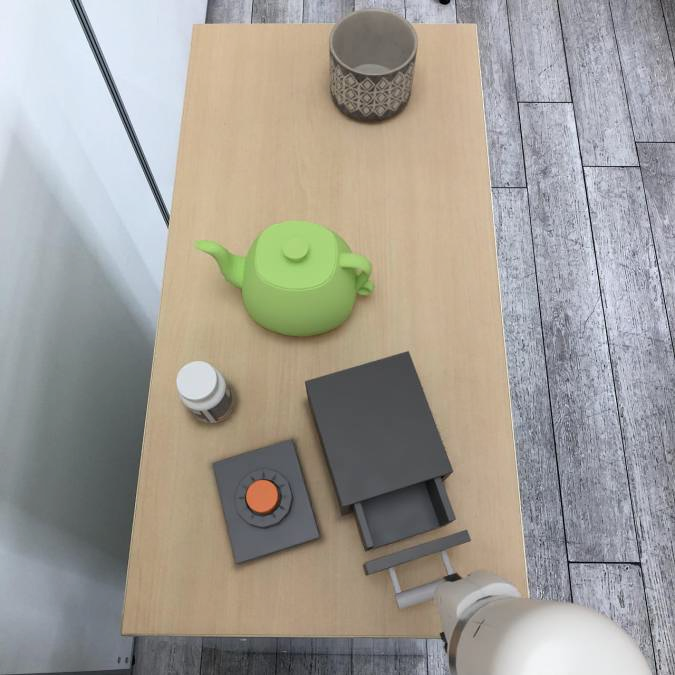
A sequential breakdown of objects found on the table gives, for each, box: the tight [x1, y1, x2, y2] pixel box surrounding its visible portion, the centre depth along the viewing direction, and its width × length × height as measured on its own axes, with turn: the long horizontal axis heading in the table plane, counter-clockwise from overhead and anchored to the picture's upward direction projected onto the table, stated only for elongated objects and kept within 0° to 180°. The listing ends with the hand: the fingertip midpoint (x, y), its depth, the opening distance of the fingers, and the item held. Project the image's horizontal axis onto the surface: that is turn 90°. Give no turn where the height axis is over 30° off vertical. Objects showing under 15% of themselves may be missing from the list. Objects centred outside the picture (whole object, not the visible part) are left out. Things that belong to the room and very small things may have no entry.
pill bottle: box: [175, 360, 236, 424], centre depth 76 cm, size 6×6×10 cm
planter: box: [328, 7, 419, 122], centre depth 94 cm, size 13×13×10 cm
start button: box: [246, 480, 279, 514], centre depth 72 cm, size 4×4×2 cm
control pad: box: [212, 438, 321, 565], centre depth 74 cm, size 12×10×4 cm
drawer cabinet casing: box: [304, 350, 454, 517], centre depth 74 cm, size 15×13×10 cm
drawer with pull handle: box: [351, 477, 472, 611], centre depth 71 cm, size 18×11×8 cm, turn 17°
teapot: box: [193, 220, 375, 337], centre depth 80 cm, size 22×15×13 cm
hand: (458, 636), depth 56 cm, fingers closed
